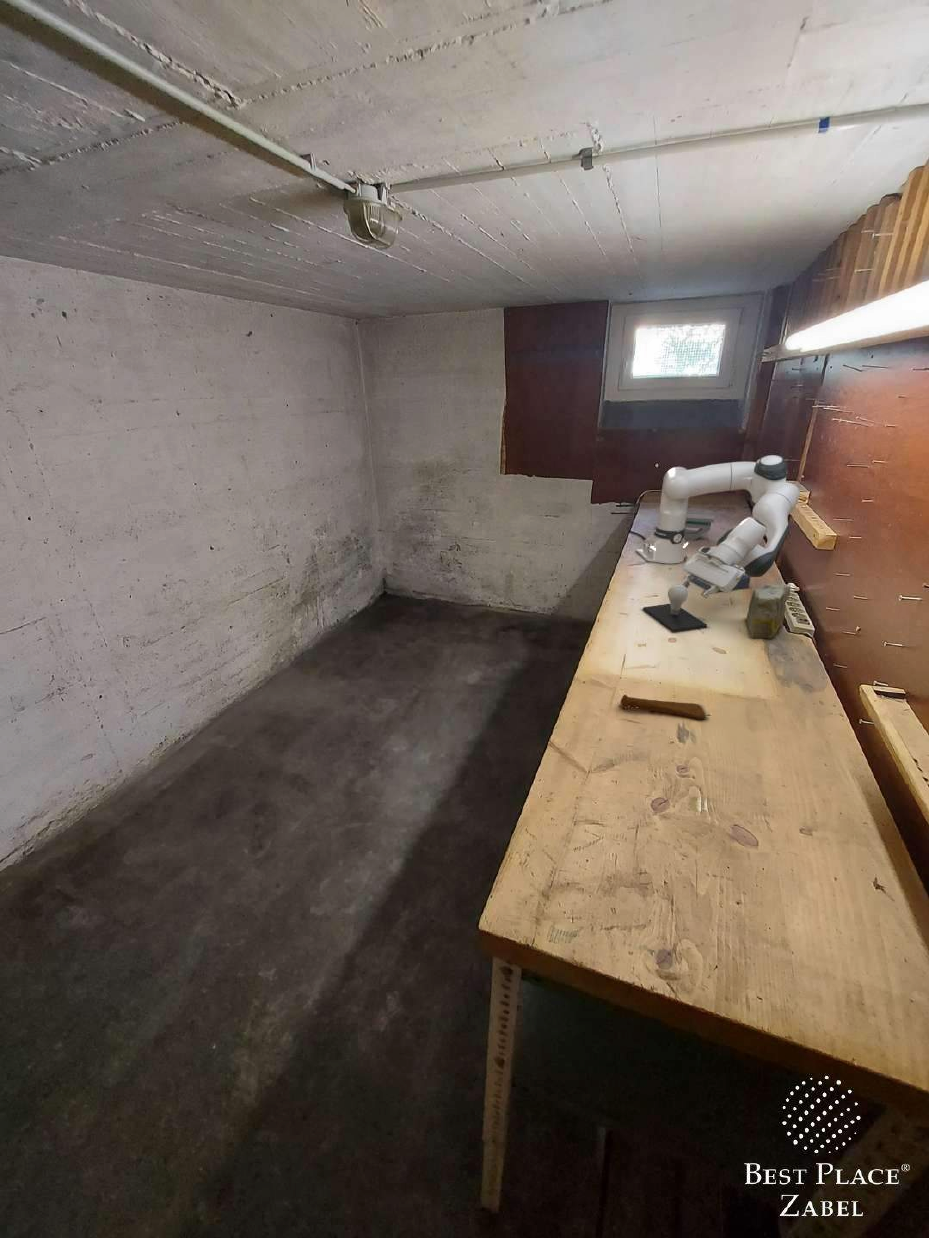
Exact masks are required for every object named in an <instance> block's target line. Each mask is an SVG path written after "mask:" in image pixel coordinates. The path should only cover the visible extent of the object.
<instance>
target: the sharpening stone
mask: <svg viewBox="0 0 929 1238" xmlns="http://www.w3.org/2000/svg"><path fill="white" fill-rule="evenodd" d="M715 519H716V515H710V514H697V513H687V516H686V522H685V536H684V539H685V540H691V541H696V540H697V539H699V538H700V537H702V536H703V535H705V534H706V533H708V532H709V531H710V530H711V526H712V523H713V524H714V523H715ZM687 528H688V529H687Z"/></svg>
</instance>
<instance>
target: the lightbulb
mask: <svg viewBox="0 0 929 1238" xmlns="http://www.w3.org/2000/svg"><path fill="white" fill-rule="evenodd" d="M688 591H689V590H688V588H686V587H684V586H683V585H682V584H674V585H672V586H671V587H670V588H669V589H668V591H667V598H668V600H669V602H670V603H669V604H671V614H672V615H673V616H676V615H678V614H679V610H680V609H681V608H682V606H683V604H684V602H685V601H686V600H687V599H688V597H689V592H688Z"/></svg>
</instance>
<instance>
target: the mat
mask: <svg viewBox="0 0 929 1238" xmlns="http://www.w3.org/2000/svg"><path fill="white" fill-rule="evenodd" d="M642 611H643V612H645V613H647V614H648V615H649V616H650V617H652V618H653V619H654V620H656V621H657V622H659V623H660V624H661V625H662V626H663V627H665V628H666V629H668V630H669V631H671V632H672V633H679V632H686V631H691V630H698V629H705V628H707V626H708V624H706V623H705V622H704V621H703V620H701V619H699V618H698V617H696V616H695V615H693V614H692V613H690V612H689V611H687V610H685V609H684V608H683V607H681V609H680V610H679V614H678V615H676V616H673V615H672V614H671V603H665V604H664V603H663V604H657V605H650V606H643V608H642Z"/></svg>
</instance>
